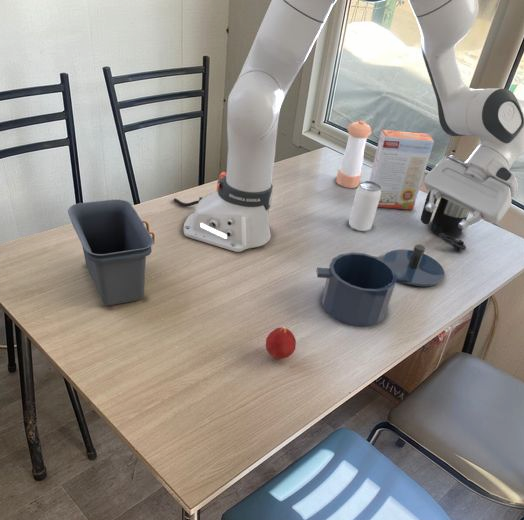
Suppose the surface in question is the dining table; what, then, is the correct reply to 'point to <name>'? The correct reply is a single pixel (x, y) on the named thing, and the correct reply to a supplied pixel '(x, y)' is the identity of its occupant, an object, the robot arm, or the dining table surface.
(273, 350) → the onion
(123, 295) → the storage bin
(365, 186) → the can
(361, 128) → the pepper shaker
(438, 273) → the lid
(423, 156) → the cracker box
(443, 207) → the milk frother
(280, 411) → the dining table surface
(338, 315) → the pot
